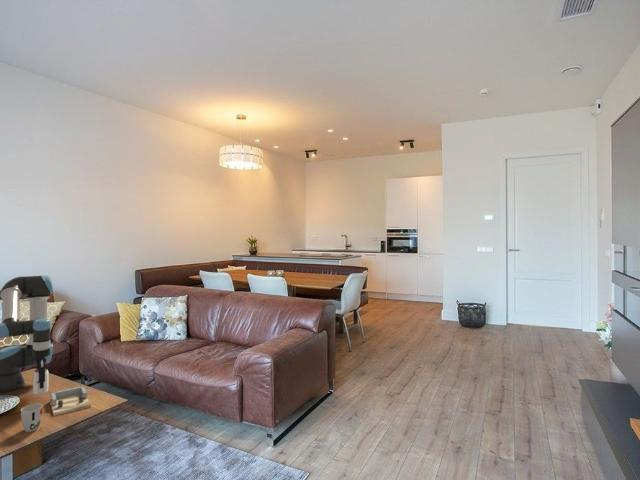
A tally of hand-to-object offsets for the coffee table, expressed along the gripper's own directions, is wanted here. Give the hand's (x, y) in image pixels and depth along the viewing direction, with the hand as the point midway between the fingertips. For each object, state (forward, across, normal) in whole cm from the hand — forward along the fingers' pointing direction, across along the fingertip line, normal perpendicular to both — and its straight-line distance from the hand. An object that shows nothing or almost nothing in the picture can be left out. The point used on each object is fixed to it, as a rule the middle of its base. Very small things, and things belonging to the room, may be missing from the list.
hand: (40, 391), depth 199 cm
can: (+1, 0, 0) cm, 1 cm away
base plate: (+7, +10, +12) cm, 17 cm away
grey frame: (+5, +5, +12) cm, 14 cm away
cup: (+6, +29, -5) cm, 30 cm away
